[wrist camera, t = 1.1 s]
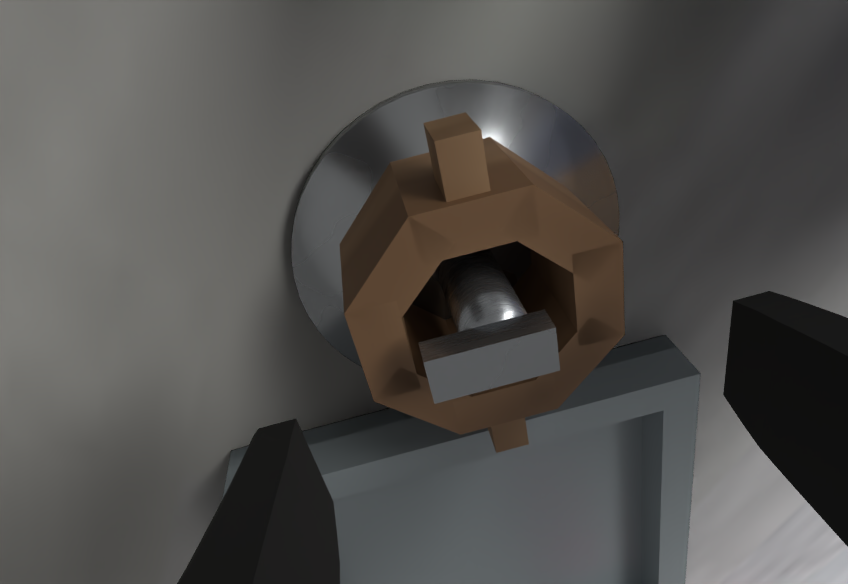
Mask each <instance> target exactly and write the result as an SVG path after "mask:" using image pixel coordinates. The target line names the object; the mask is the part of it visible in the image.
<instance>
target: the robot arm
mask: <svg viewBox="0 0 848 584" xmlns="http://www.w3.org/2000/svg"><path fill="white" fill-rule="evenodd" d="M723 395H724V396H725V398H726V399H727V401H728V402H729V404H730V405H731V407H732V408H733V410H734V411H735V413H736V414H737V416H738V417H739V419H740V420H741V422H742V424H743V425H744V426H745V428H746V429H747V431H748V432H749V433H750V435H751V436H752V438H753V439H754V440H755V442H756V443H757V445H758V446H759V447H760V449H761V450H762V451H763V452H764V453H765V454H766V456H767V457H768V458H769V459H770V460H771V461H772V462H773V464H774V465H775V466H776V467H777V468H778V469H779V470H780V471H781V473H782V474H783V475H784V476H785V477H786V478H787V479H788V481H789V482H790V483H791V484H792V485H793V486H794V487H795V488H796V490H797V491H798V492H799V493H800V494H801V495H802V496H803V497H804V498H805V500H806V501H807V502H808V503H809V504H810V505H811V506H812V507H813V508H814V510H815V511H816V512H817V513H818V514H819V515H820V516H821V517H822V519H823V520H824V521H825V522H826V523H827V524H828V525H829V526H830V527H831V529H832V530H833V531H834V532H835V533H836V534H837V535H838V536H839V537H840V539H841V540H842V541H843V542H844V543H845V544H846V545H847V546H848V318H846V317H843V316H841V315H838V314H835V313H833V312H830V311H827V310H824V309H821V308H819V307H816V306H813V305H810V304H807V303H805V302H802V301H799V300H796V299H793V298H790V297H787V296H784V295H780V294H777V293H774V292H770V291H768V292H764V293H761V294H757V295H753V296H749V297H746V298H742V299H738V300H735V301H733V306H732V316H731V326H730V335H729V345H728V355H727V365H726V374H725V384H724V394H723ZM177 584H340V559H339V549H338V538H337V529H336V520H335V511H334V502H333V499H332V497H331V495H330V493H329V491H328V488H327V486H326V484H325V482H324V479H323V477H322V475H321V473H320V471H319V468H318V466H317V464H316V462H315V460H314V457H313V455H312V453H311V451H310V448H309V446H308V444H307V442H306V440H305V437H304V435H303V433H302V431H301V429H300V426H299V424H298V422H297V420H296V419H293V420H289V421H285V422H282V423H278V424H274V425H270V426H267V427H263V428H259V429H258V430H257V432H256V433H255V435H254V436H253V438H252V440H251V442H250V445H249V447H248V449H247V451H246V453H245V455H244V457H243V459H242V461H241V463H240V465H239V467H238V469H237V471H236V473H235V475H234V477H233V479H232V481H231V483H230V485H229V487H228V489H227V491H226V493H225V495H224V497H223V499H222V501H221V503H220V505H219V507H218V509H217V511H216V513H215V515H214V517H213V519H212V521H211V523H210V525H209V526H208V528H207V530H206V532H205V534H204V536H203V538H202V540H201V542H200V543H199V545H198V547H197V549H196V551H195V553H194V555H193V557H192V559H191V560H190V562H189V564H188V566H187V568H186V569H185V571H184V573H183V575H182V576H181V578H180V580H179V582H178V583H177Z"/></svg>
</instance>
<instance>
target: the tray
mask: <svg viewBox="0 0 848 584" xmlns="http://www.w3.org/2000/svg"><path fill="white" fill-rule="evenodd" d="M699 387H700V373H699V372H698V370H697V369H696V368H695V367H694V366H693V365H692V364H691V363H690V362H689V360H688V359H687V358H686V357H685V356H684V355H683V354H682V353H681V352H680V350H679V349H678V348H677V347H676V346H675V345H674V344H673V343H672V342H671V340H670V339H669V338H668V337H667V336H666V335H664V336H660V337H656V338H653V339H649V340H645V341H641V342H638V343H634V344H630V345H626V346H622V347H619V348H615V349H611V351H610V352H609V353H608V354H607V355H606V356H605V357H604V358H603V359H602V361H601V362H600V363H599V364H598V365H597V366H596V367H595V368H594V369H593V370H592V372H591V373H590V374H589V375H588V376H587V377H586V378H585V379H584V380H583V381H582V383H581V384H580V385H579V386H578V387H577V388H576V389H575V390H574V391H573V392H572V394H571V395H570V396H569V397H568V398H567V399H566V400H565V401H564V402H563V404H562V405H561V406H560V407H559V408H558V409H555V410H551V411H547V412H544V413H540V414H536V415H532V416H529V417H525V421H526V427H527V434H528V440H529V444H528V445H524V446H521V447H517V448H513V449H509V450H506V451H502V452H498V453H496V451H495V448H494V445H493V442H492V439H491V436H490V434H489V431H488V428H484V429H480V430H476V431H473V432H469V433H465V434H461V435H460V434H458V433H455V432H453V431H450V430H447V429H445V428H442V427H439V426H437V425H434V424H432V423H429V422H426V421H424V420H421V419H419V418H416V417H413V416H411V415H408V414H405V413H403V412H400V411H398V410H395V409H392V408H389V409H386V410H382V411H378V412H374V413H371V414H367V415H363V416H359V417H356V418H352V419H348V420H344V421H341V422H337V423H333V424H329V425H326V426H322V427H318V428H314V429H311V430H307V431H303V432H302V433H303V435H304V437H305V440H306V442H307V444H308V446H309V448H310V451H311V453H312V455H313V457H314V460H315V462H316V464H317V466H318V468H319V471H320V473H321V475H322V477H323V479H324V482H325V484H326V486H327V488H328V491H329V493H330V495H331V497H332V499H333V502H334V511H335V520H336V529H337V538H338V549H339V559H340V584H685V578H686V564H687V551H688V537H689V523H690V510H691V496H692V483H693V469H694V455H695V442H696V428H697V415H698V401H699ZM248 447H249V446H247V447H243V448H239V449H235V450H232V451H231V454H230V460H229V465H228V471H227V477H226V482H225V488H224V493H223V497H224V495H225V493H226V491H227V489H228V487H229V485H230V483H231V481H232V479H233V477H234V475H235V473H236V471H237V469H238V467H239V465H240V463H241V461H242V459H243V457H244V455H245V453H246V451H247V449H248Z"/></svg>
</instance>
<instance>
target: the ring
mask: <svg viewBox="0 0 848 584" xmlns="http://www.w3.org/2000/svg"><path fill="white" fill-rule="evenodd" d="M423 124H424V129H425V134H426V139H427V144H428V148H429V152H428V153H424V154H420V155H416V156H413V157H409V158H405V159H401V160H397V161H393V162H390V163H389V165H388V166H387V168H386V170H385V171H384V173H383V174H382V176H381V178H380V179H379V181H378V183H377V184H376V186H375V187H374V189H373V191H372V192H371V194H370V196H369V197H368V199H367V200H366V202H365V204H364V205H363V207H362V208H361V210H360V212H359V213H358V215H357V217H356V218H355V220H354V221H353V223H352V225H351V226H350V228H349V230H348V231H347V233H346V234H345V236H344V238H343V239H342V241H341V242H340V260H341V275H342V290H343V305H344V315H345V318H346V321H347V324H348V327H349V330H350V333H351V336H352V339H353V341H354V344H355V347H356V350H357V353H358V356H359V359H360V362H361V365H362V368H363V371H364V374H365V377H366V379H367V382H368V385H369V388H370V391H371V394H372V397H373V400H374V402H377V403H379V404H382V405H385V406H387V407H390V408H392V409H395V410H398V411H400V412H403V413H405V414H408V415H411V416H413V417H416V418H419V419H421V420H424V421H426V422H429V423H432V424H434V425H437V426H439V427H442V428H445V429H447V430H450V431H453V432H455V433H458V434H460V435H461V434H465V433H469V432H473V431H476V430H480V429H484V428H488V431H489V434H490V436H491V439H492V442H493V445H494V448H495V451H496V453H498V452H502V451H506V450H509V449H513V448H517V447H521V446H524V445H528V444H529V440H528V434H527V427H526V421H525V417H529V416H532V415H536V414H540V413H544V412H547V411H551V410H555V409H558V408H559V407H560V406H561V405H562V404H563V402H564V401H565V400H566V399H567V398H568V397H569V396H570V395H571V394H572V392H573V391H574V390H575V389H576V388H577V387H578V386H579V385H580V384H581V383H582V381H583V380H584V379H585V378H586V377H587V376H588V375H589V374H590V373H591V372H592V370H593V369H594V368H595V367H596V366H597V365H598V364H599V363H600V362H601V361H602V359H603V358H604V357H605V356H606V355H607V354H608V353H609V352H610V351H611V349H612V348H613V347H614V346H615V345H616V344H617V343H618V342H619V341H620V340H621V338H622V337H623V336H624V335H625V322H624V271H623V241H622V240H621V239H620V238H619V237H618V236H617V235H616V234H615V233H614V232H613V231H611V230H610V229H609V228H608V227H607V226H606V225H605V224H604V223H603V222H602V221H601V220H600V219H599V218H598V217H597V216H596V215H595V214H594V213H593V212H592V211H591V210H590V209H588V208H587V207H586V206H585V205H584V204H583V203H582V202H581V201H580V200H579V199H578V198H577V197H576V196H575V195H574V194H573V193H572V192H571V191H570V190H569V189H568V188H566V187H565V186H564V185H563V184H561V183H560V182H558V181H557V180H555V179H553V178H552V177H550V176H549V175H547V174H546V173H544V172H543V171H541V170H540V169H538V168H537V167H535V166H534V165H532V164H531V163H529V162H527V161H526V160H524V159H523V158H521V157H520V156H518V155H517V154H515V153H514V152H512V151H511V150H509V149H508V148H506V147H505V146H503V145H502V144H500V143H498V142H497V141H495V140H494V139H492V138H491V137H487V138H482V131H481V129H480V128H479V127H478V125H477V124H476V123H475V122H474V121H473V120H472V119H471V118H470V117H469V116H468V114H467V113H466V112H465V113H461V114H457V115H453V116H449V117H445V118H441V119H437V120H433V121H429V122H425V123H423ZM516 241H518V242H520V243H521V244H523V245H525V246H527V247H528V248H530V255H531V265H530V266H529V267H528V269H527V270H526V271H525V272H524V274H523V275H522V276H521V277H520V279H519V280H518V281H517V283H516V284H515V285H514V286H513V289H514V291H515V293H516V295H517V296H518V298H519V300H520V302H521V303H522V305H523V307H524V309H525V310H526V312H527V314H529V313H532V312H536V311H540V310H544V309H545V311H546V313H547V314H548V316H549V317H550V319H551V320H552V322H553V324H554V325H555V327H556V333H557V343H558V353H559V363H560V371H556V372H553V373H549V374H545V375H541V376H538V377H534V378H530V379H526V380H523V381H519V382H515V383H511V384H508V385H504V386H500V387H496V388H493V389H489V390H485V391H481V392H477V393H474V394H470V395H466V396H462V397H459V398H455V399H451V400H447V401H444V402H440V403H436V404H434V401H433V397H432V393H431V389H430V386H429V382H428V378H427V374H426V371H425V367H424V363H423V359H422V355H421V351H420V347H419V343H418V342H422V341H426V340H430V339H434V338H437V337H441V336H445V335H449V334H453V333H456V332H457V329H456V327H455V324H454V321H453V318H451V319H447V320H445V319H443V318H440V317H438V316H436V315H434V314H432V313H430V312H428V311H426V310H424V309H422V308H419V307H417V306H415V305H413V304H412V303H413V301H414V300H415V298H416V297H417V296H418V294H419V293H420V291H421V290H422V289H423V287H424V286H425V284H426V283H427V281H428V280H429V279H430V277H431V276H432V274H433V273H434V272H435V270H436V269H437V267H438V266H439V265H440V263H441V262H442V261H443V260H446V259H450V258H454V257H458V256H462V255H466V254H469V253H473V252H477V251H481V250H485V249H489V248H493V247H496V246H500V245H504V244H508V243H512V242H516Z"/></svg>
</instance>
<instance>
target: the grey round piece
mask: <svg viewBox="0 0 848 584" xmlns="http://www.w3.org/2000/svg"><path fill="white" fill-rule="evenodd" d="M465 112H466V113H467V114H468V116H469V117H470V118H471V119H472V120H473V121H474V122H475V123H476V124H477V125H478V127H479V128H480V129H481V131H482V138H487V137H491V138H492V139H494V140H495V141H497V142H498V143H500V144H502V145H503V146H505V147H506V148H508V149H509V150H511V151H512V152H514V153H515V154H517V155H518V156H520V157H521V158H523V159H524V160H526V161H527V162H529V163H531V164H532V165H534V166H535V167H537V168H538V169H540V170H541V171H543V172H544V173H546V174H547V175H549V176H550V177H552V178H553V179H555V180H557V181H558V182H560V183H561V184H563V185H564V186H565V187H566V188H568V189H569V190H570V191H571V192H572V193H573V194H574V195H575V196H576V197H577V198H578V199H579V200H580V201H581V202H582V203H583V204H584V205H585V206H586V207H587V208H588V209H590V210H591V211H592V212H593V213H594V214H595V215H596V216H597V217H598V218H599V219H600V220H601V221H602V222H603V223H604V224H605V225H606V226H607V227H608V228H609V229H610V230H611V231H613V232H614V233H615V234H616V235H617V236H618V233H619V206H618V196H617V192H616V188H615V184H614V179H613V176H612V174H611V171H610V169H609V166H608V164H607V162H606V159H605V157H604V156H603V154H602V152H601V151H600V149H599V148H598V146H597V144H596V143H595V141H594V140H593V139H592V138H591V136H590V135H589V134H588V133H587V132H586V131H585V129H584V128H583V127H582V126H581V125H580V124H579V123H578V122H576V121H575V120H574V119H573V118H572V117H571V116H569V115H568V114H567V113H566V112H565V111H563V110H561V109H560V108H558V107H557V106H555V105H554V104H552V103H550V102H549V101H547V100H545V99H544V98H542V97H540V96H538V95H536V94H533V93H531V92H529V91H526V90H524V89H522V88H519V87H515V86H511V85H507V84H503V83H499V82H492V81H483V80H451V81H444V82H439V83H433V84H427V85H423V86H420V87H417V88H414V89H411V90H408V91H405V92H402V93H400V94H398V95H395V96H393V97H391V98H389V99H387V100H385V101H383V102H381V103H379V104H377V105H376V106H374V107H373V108H371V109H370V110H368V111H367V112H365V113H364V114H362V115H361V116H359V117H358V118H357V119H356V120H354V121H353V122H352V123H351V124H350V125H349V126H347V127H346V128H345V129H344V130H343V131H342V132H341V133H340V134H339V135H338V136H337V137H336V138H335V139H334V140H333V142H332V143H331V144H330V145H329V146H328V147H327V148H326V150H325V151H324V152H323V154H322V155H321V157H320V158H319V160H318V161H317V163H316V164H315V166H314V167H313V169H312V170H311V173H310V175H309V177H308V179H307V181H306V183H305V185H304V187H303V189H302V192H301V195H300V199H299V202H298V205H297V208H296V212H295V218H294V225H293V231H292V267H293V274H294V280H295V283H296V287H297V290H298V293H299V297H300V299H301V301H302V303H303V306H304V308H305V310H306V312H307V314H308V316H309V317H310V319H311V320H312V322H313V323H314V325H315V326H316V328H317V329H318V331H319V332H320V333H321V334H322V335H323V336H324V338H325V339H326V340H327V341H328V342H329V343H330V344H331V345H332V346H333V347H334V348H336V349H337V350H338V351H339V352H340V353H341V354H343V355H344V356H345V357H347V358H348V359H350V360H351V361H353V362H354V363H356V364H357V365H359V366H361V367H362V365H361V362H360V359H359V356H358V353H357V350H356V347H355V344H354V341H353V339H352V336H351V333H350V330H349V327H348V324H347V321H346V318H345V315H344V305H343V290H342V275H341V260H340V242H341V241H342V239H343V238H344V236H345V234H346V233H347V231H348V230H349V228H350V226H351V225H352V223H353V221H354V220H355V218H356V217H357V215H358V213H359V212H360V210H361V208H362V207H363V205H364V204H365V202H366V200H367V199H368V197H369V196H370V194H371V192H372V191H373V189H374V187H375V186H376V184H377V183H378V181H379V179H380V178H381V176H382V174H383V173H384V171H385V170H386V168H387V166H388V165H389V163H390V162H393V161H397V160H401V159H405V158H409V157H413V156H416V155H420V154H424V153H428V152H429V148H428V144H427V139H426V134H425V129H424V124H423V123H425V122H429V121H433V120H437V119H441V118H445V117H449V116H453V115H457V114H461V113H465ZM530 265H531V255H530V248H528V247H527V246H525V245H523V244H521V243H520V242H518V241H516V242H512V243H508V244H504V245H500V246H496V247H493V248H489V249H485V250H481V251H477V252H473V253H469V254H466V255H462V256H458V257H454V258H450V259H446V260H443V261H442V262H441V263H440V265H439V266H438V267H437V269H436V270H435V272H434V273H433V274H432V276H431V277H430V279H429V280H428V281H427V283H426V284H425V286H424V287H423V289H422V290H421V291H420V293H419V294H418V296H417V297H416V298H415V300H414V301H413V303H412V304H413V305H415V306H417V307H419V308H422V309H424V310H426V311H428V312H430V313H432V314H434V315H436V316H438V317H440V318H443V319H445V320H447V319H451V318H453V321H454V324H455V327H456V329H457V332H456V333H453V334H449V335H445V336H441V337H437V338H434V339H430V340H426V341H422V342H418V343H419V347H420V351H421V355H422V359H423V363H424V367H425V371H426V374H427V378H428V382H429V386H430V389H431V393H432V397H433V401H434V404H436V403H440V402H444V401H447V400H451V399H455V398H459V397H462V396H466V395H470V394H474V393H477V392H481V391H485V390H489V389H493V388H496V387H500V386H504V385H508V384H511V383H515V382H519V381H523V380H526V379H530V378H534V377H538V376H541V375H545V374H549V373H553V372H556V371H560V363H559V353H558V343H557V333H556V327H555V325H554V324H553V322H552V320H551V319H550V317H549V316H548V314H547V313H546V311H545V309H544V310H540V311H536V312H532V313H529V314H527V312H526V310H525V309H524V307H523V305H522V303H521V302H520V300H519V298H518V296H517V295H516V293H515V291H514V289H513V286H514V285H515V284H516V283H517V281H518V280H519V279H520V277H521V276H522V275H523V274H524V272H525V271H526V270H527V269H528V267H529V266H530Z"/></svg>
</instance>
